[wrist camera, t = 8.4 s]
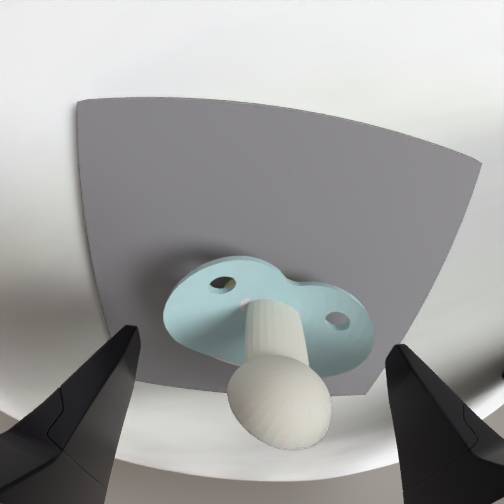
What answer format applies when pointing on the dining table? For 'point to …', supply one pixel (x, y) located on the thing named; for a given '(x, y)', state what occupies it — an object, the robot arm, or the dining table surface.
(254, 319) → the pacifier
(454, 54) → the dining table surface
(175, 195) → the mat
